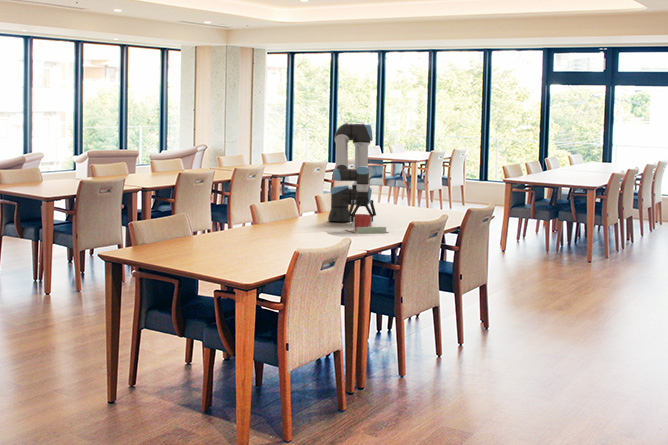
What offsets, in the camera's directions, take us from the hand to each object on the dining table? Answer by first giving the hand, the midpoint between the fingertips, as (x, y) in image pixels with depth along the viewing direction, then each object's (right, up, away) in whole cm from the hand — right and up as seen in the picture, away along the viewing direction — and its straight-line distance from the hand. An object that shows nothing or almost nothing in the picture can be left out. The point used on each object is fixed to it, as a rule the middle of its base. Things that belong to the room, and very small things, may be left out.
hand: (361, 227), depth 472 cm
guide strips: (+2, -2, -8) cm, 9 cm away
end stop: (+5, -3, -17) cm, 18 cm away
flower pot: (0, -2, 0) cm, 2 cm away
